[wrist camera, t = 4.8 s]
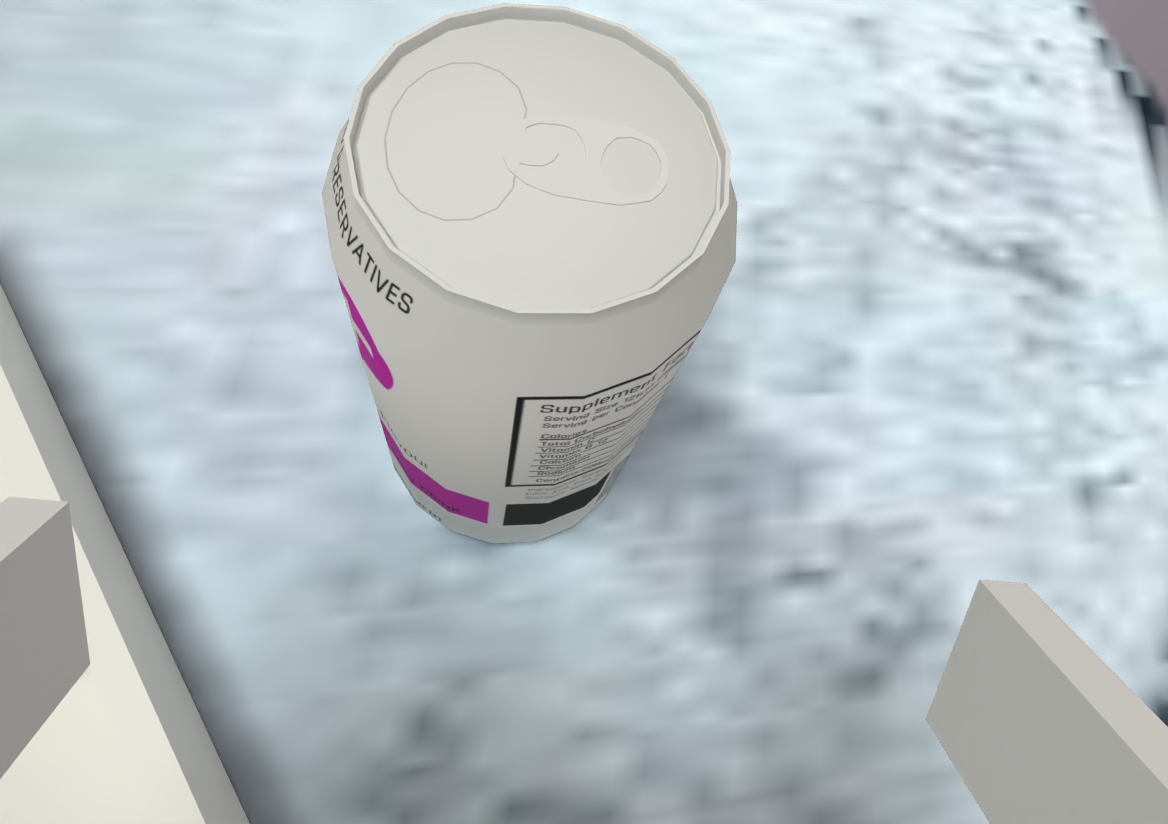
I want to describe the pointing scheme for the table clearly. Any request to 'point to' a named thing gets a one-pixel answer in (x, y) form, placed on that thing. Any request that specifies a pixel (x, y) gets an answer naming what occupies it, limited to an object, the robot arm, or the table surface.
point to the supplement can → (525, 255)
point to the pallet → (100, 652)
